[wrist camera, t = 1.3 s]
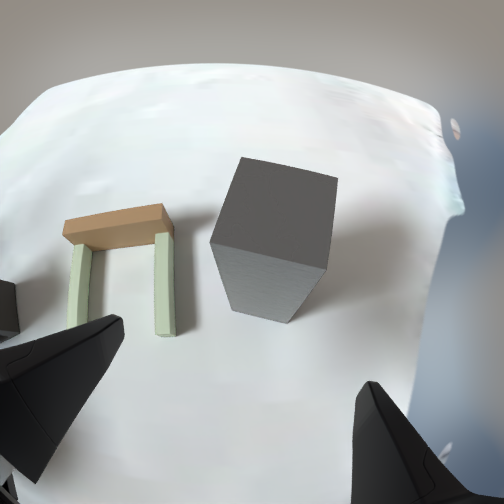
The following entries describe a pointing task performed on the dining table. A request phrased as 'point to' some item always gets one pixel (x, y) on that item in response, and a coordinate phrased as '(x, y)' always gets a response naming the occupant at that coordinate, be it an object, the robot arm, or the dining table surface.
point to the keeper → (119, 236)
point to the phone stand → (8, 311)
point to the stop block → (273, 237)
